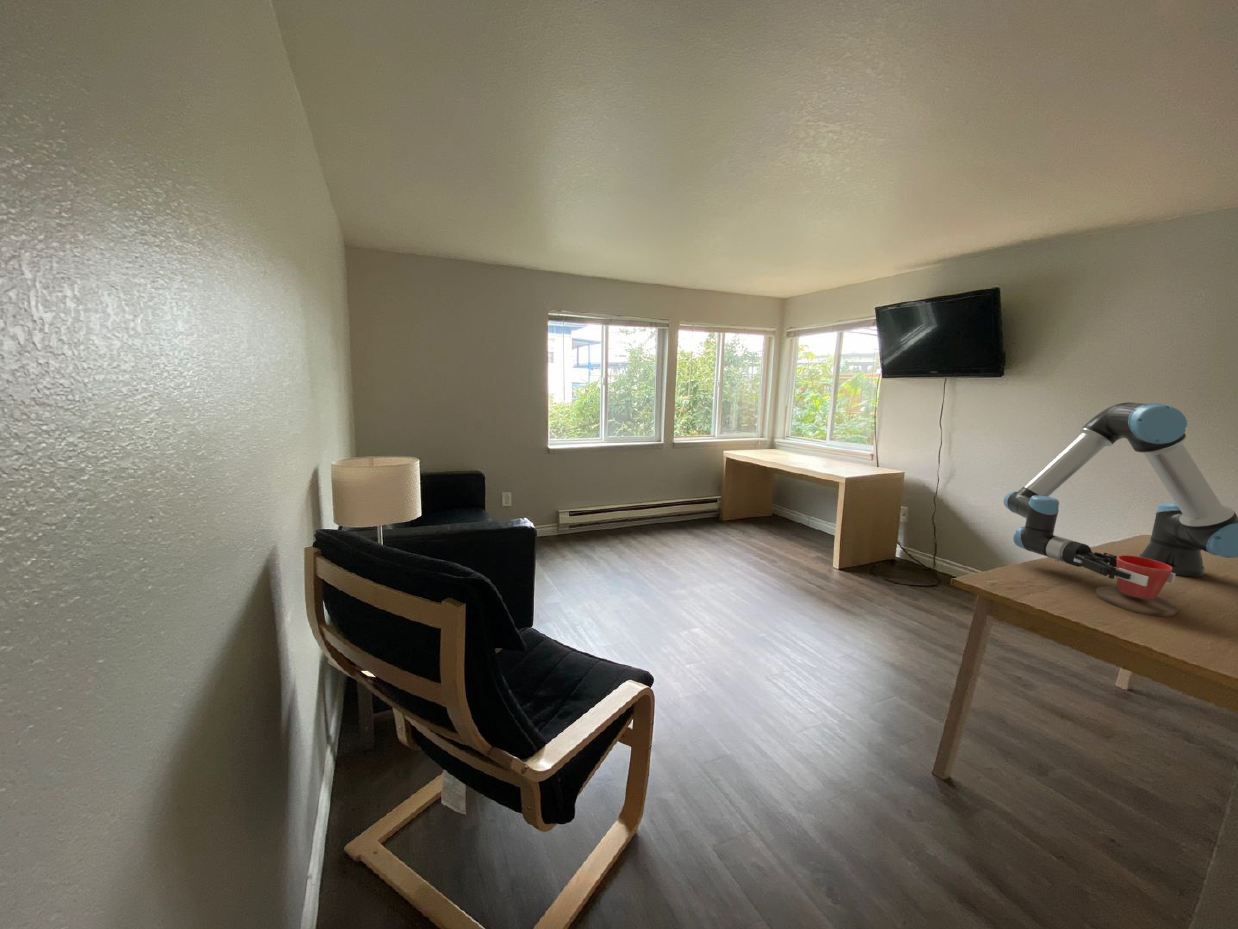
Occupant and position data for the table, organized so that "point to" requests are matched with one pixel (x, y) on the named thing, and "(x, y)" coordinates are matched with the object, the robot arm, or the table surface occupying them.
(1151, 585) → the flower pot
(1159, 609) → the brown plate
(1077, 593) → the table surface
